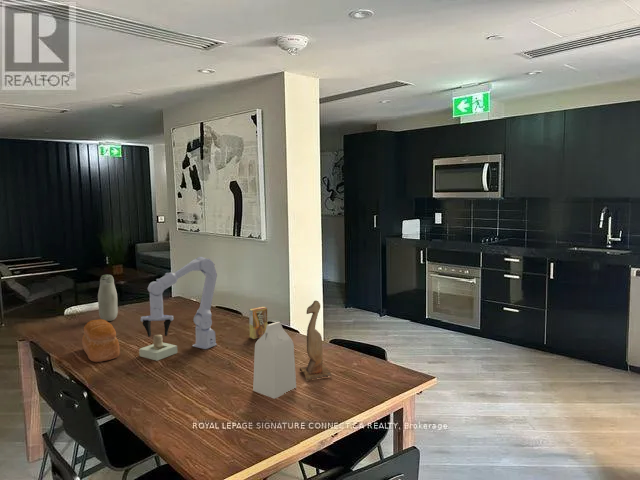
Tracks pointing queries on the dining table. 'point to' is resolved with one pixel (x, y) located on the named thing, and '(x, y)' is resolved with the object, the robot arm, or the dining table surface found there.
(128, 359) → the dining table surface
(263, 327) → the candy box
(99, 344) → the bread
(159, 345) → the peg
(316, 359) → the bird sculpture
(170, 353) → the socket block
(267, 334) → the milk
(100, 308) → the grey bottle
